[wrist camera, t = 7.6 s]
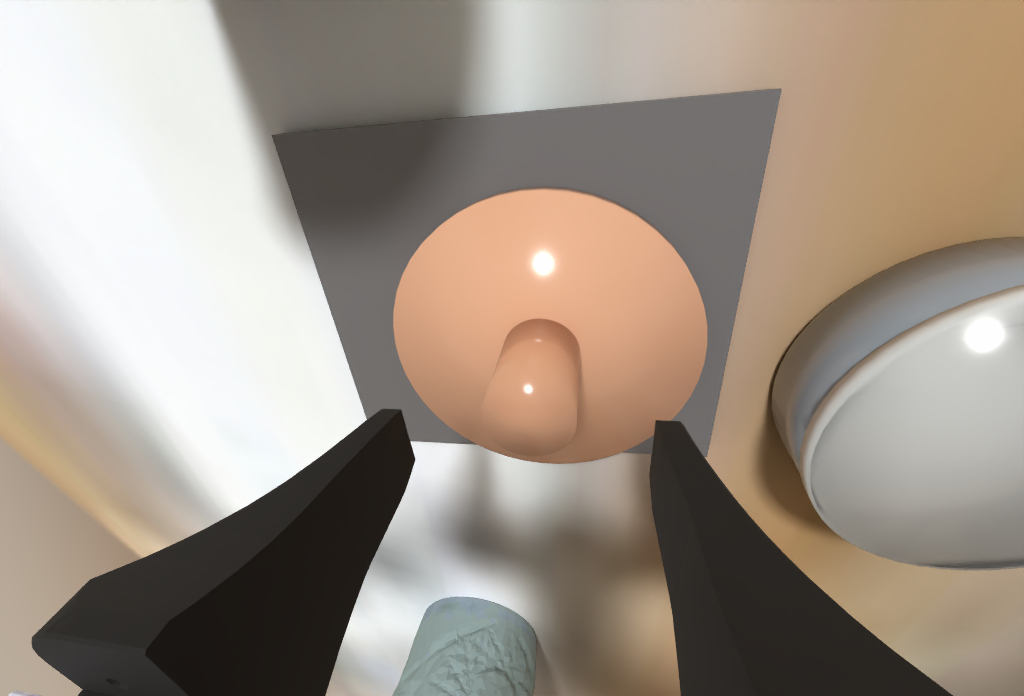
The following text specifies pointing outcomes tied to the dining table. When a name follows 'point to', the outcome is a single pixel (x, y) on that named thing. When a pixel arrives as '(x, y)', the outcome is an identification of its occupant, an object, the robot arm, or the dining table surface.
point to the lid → (550, 325)
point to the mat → (524, 164)
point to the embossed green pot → (470, 652)
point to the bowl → (917, 409)
